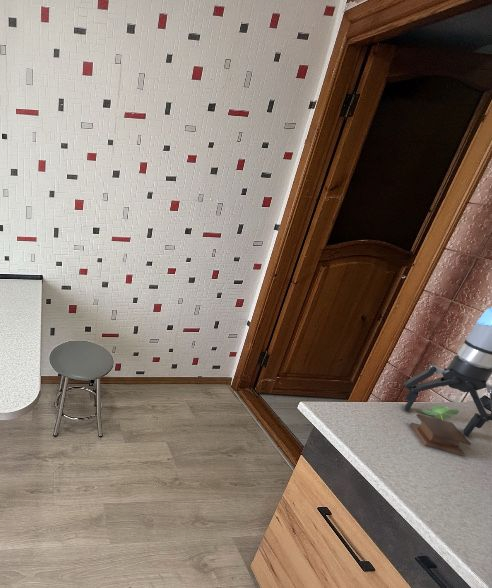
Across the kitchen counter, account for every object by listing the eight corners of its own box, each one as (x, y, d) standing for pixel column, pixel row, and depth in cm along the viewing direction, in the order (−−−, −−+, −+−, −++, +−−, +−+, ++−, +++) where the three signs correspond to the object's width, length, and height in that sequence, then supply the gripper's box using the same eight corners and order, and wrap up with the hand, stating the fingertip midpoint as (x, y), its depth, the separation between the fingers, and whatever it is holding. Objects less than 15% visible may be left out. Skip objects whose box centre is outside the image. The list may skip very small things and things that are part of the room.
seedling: (429, 436, 100) (425, 415, 103) (469, 438, 94) (462, 415, 97) (421, 426, 97) (416, 405, 101) (461, 427, 91) (454, 405, 95)
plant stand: (443, 434, 94) (452, 422, 93) (462, 456, 87) (471, 443, 86) (409, 425, 97) (416, 413, 95) (424, 445, 90) (432, 433, 88)
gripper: (541, 377, 86) (493, 438, 94) (415, 338, 100) (383, 394, 109) (549, 390, 80) (497, 453, 89) (415, 347, 95) (382, 404, 104)
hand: (434, 420), depth 99 cm, fingers open, 12 cm apart
